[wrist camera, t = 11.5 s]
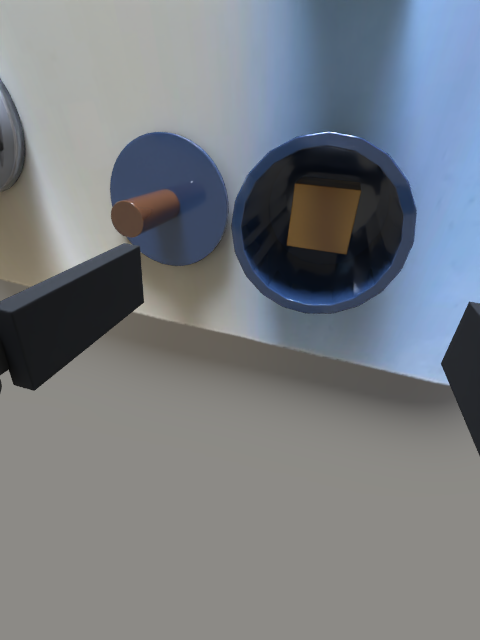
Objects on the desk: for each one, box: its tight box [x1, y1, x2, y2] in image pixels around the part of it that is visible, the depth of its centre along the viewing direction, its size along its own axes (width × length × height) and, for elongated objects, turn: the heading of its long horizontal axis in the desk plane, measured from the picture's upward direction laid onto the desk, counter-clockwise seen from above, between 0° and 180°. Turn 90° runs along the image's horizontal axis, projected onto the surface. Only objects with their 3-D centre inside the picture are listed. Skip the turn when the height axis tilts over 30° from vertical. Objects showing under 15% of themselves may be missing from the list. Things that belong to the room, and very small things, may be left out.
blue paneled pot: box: [231, 132, 417, 314], centre depth 28 cm, size 13×13×10 cm
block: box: [287, 177, 361, 254], centre depth 30 cm, size 5×5×5 cm
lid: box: [110, 132, 229, 266], centre depth 33 cm, size 14×14×9 cm
